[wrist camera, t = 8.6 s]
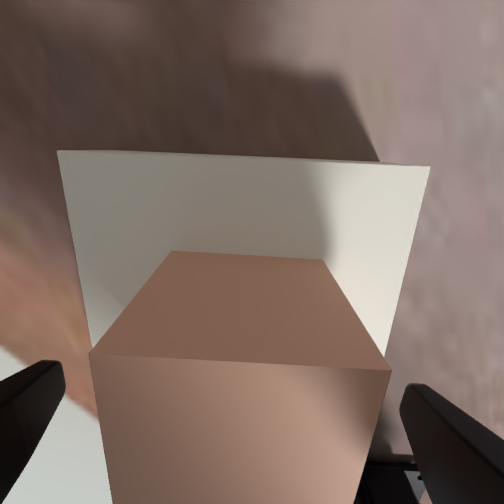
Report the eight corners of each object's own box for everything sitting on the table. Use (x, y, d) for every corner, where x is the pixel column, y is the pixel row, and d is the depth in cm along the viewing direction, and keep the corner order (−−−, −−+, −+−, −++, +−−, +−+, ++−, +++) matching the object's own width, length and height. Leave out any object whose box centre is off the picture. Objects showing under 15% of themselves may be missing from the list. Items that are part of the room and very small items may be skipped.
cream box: (338, 367, 16) (365, 435, 12) (141, 360, 16) (106, 425, 12) (375, 161, 12) (430, 166, 8) (118, 150, 12) (56, 150, 8)
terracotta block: (303, 378, 11) (341, 546, 6) (175, 371, 11) (118, 537, 6) (322, 259, 9) (392, 370, 5) (171, 250, 9) (88, 353, 5)
